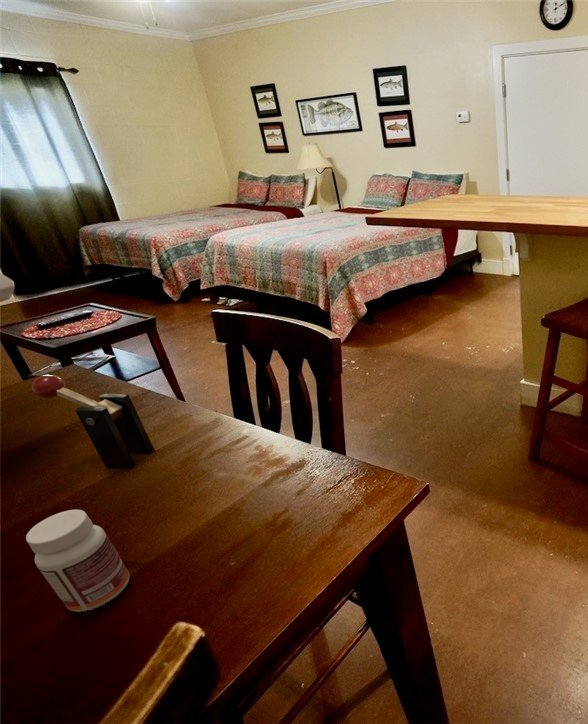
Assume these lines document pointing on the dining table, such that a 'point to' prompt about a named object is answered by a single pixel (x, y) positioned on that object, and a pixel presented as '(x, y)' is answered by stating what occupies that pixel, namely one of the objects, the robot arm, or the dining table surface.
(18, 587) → the dining table surface
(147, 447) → the bracket
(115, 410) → the lever
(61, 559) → the pill bottle
